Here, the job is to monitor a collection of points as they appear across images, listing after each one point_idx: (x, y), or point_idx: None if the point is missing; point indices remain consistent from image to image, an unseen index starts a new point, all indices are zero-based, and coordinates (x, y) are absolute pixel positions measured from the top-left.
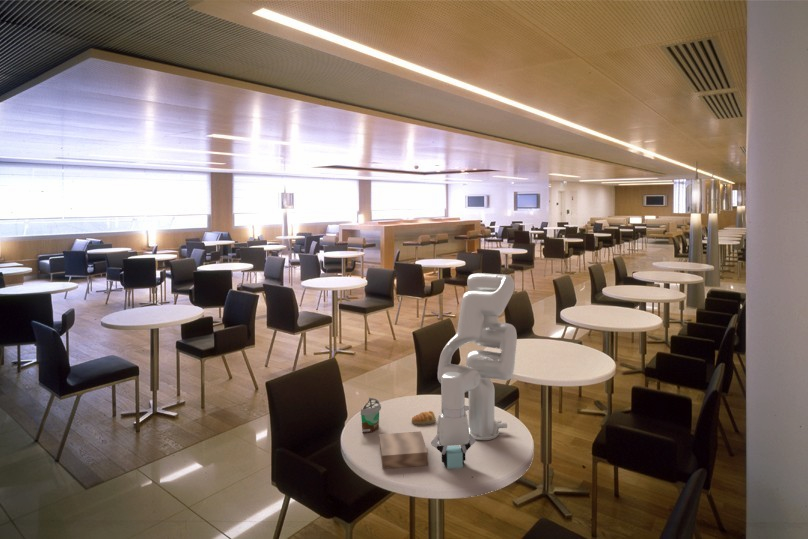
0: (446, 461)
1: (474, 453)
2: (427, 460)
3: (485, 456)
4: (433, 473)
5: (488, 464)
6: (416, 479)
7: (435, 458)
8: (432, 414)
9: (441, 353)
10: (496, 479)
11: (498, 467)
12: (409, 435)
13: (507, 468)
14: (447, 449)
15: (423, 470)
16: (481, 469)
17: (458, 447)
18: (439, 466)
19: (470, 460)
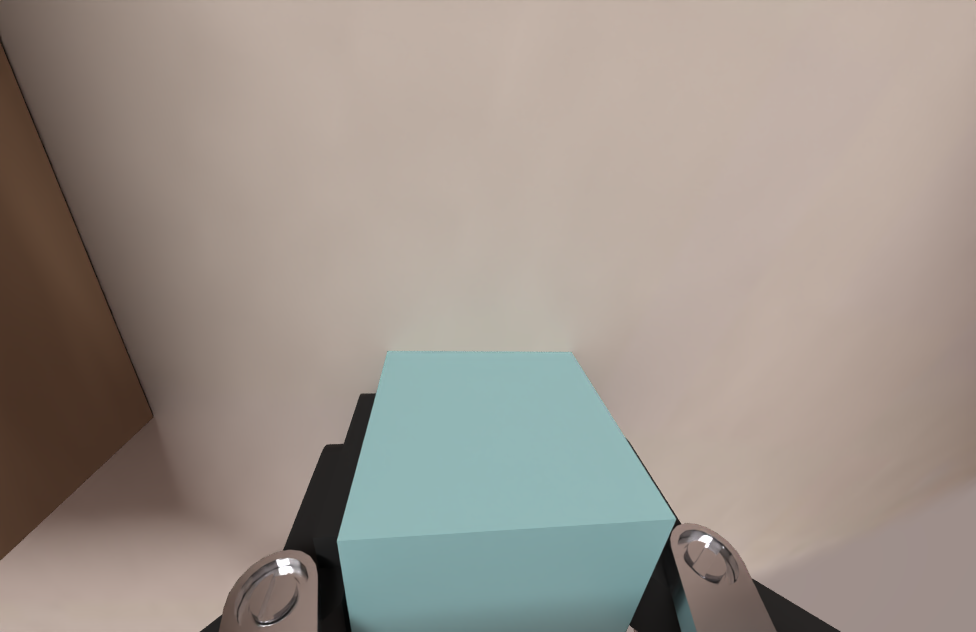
0: None
1: (810, 250)
2: (94, 468)
3: (862, 334)
4: (239, 539)
5: (780, 457)
6: (66, 600)
7: (259, 279)
8: None
9: None
10: None
11: (815, 496)
12: None
13: (859, 509)
14: (390, 617)
15: (113, 496)
16: (681, 510)
17: (626, 567)
18: (309, 448)
19: (676, 384)
